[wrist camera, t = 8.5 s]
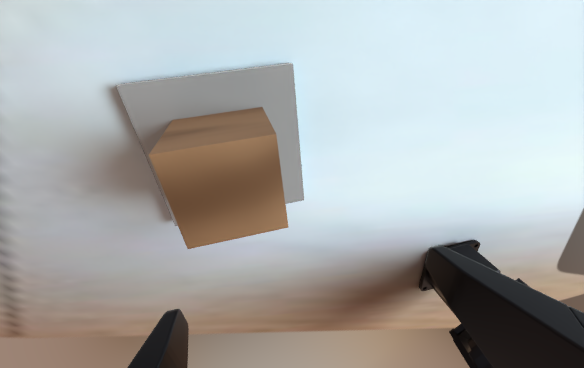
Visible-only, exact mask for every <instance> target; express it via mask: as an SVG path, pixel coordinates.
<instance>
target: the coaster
mask: <svg viewBox="0 0 584 368" xmlns="http://www.w3.org/2000/svg"><path fill="white" fill-rule="evenodd" d="M116 87H117V89H118V92H119V94H120V97H121V99H122V101H123V104H124V106H125V108H126V111H127V113H128V115H129V118H130V120H131V122H132V125H133V127H134V130H135V132H136V134H137V137H138V139H139V141H140V144H141V146H142V148H143V151H144V153H145V155H146V158H147V160H148V163H149V165H150V167H151V170H152V172H153V174H154V177H155V179H156V181H157V184H158V186H159V189H160V191H161V193H162V196H163V198H164V200H165V203H166V205H167V207H168V210H169V212H170V214H171V217H172V219H173V222H174V224H175V226H178V224H177V222H176V219H175V217H174V215H173V212H172V210H171V207H170V205H169V202H168V200H167V198H166V195H165V193H164V190H163V188H162V186H161V183H160V181H159V178H158V176H157V174H156V171H155V169H154V166H153V164H152V162H151V159H150V157H149V154H150V152H151V151H152V149H153V148H154V146H155V145H156V144H157V142H158V141H159V139H160V138H161V136H162V135H163V133H164V132H165V130H166V129H167V128H168V126H169V125H170V123H171V122H172V120H176V119H183V118H190V117H197V116H203V115H210V114H217V113H224V112H231V111H238V110H245V109H251V108H258V107H263V109H264V111H265V113H266V115H267V117H268V119H269V121H270V123H271V125H272V127H273V129H274V130H275V132H276V135H277V143H278V151H279V159H280V166H281V174H282V182H283V190H284V198H285V204H287V203H292V202H297V201H302V200H304V193H303V181H302V168H301V156H300V144H299V132H298V120H297V107H296V95H295V83H294V71H293V64H292V63H285V64H277V65H269V66H261V67H253V68H245V69H236V70H228V71H220V72H212V73H204V74H196V75H188V76H180V77H172V78H164V79H156V80H148V81H140V82H132V83H124V84H120V85H117V86H116Z"/></svg>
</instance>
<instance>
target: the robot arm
mask: <svg viewBox="0 0 584 368" xmlns="http://www.w3.org/2000/svg"><path fill="white" fill-rule="evenodd" d="M479 246H480V243H479V242H478V241H477V240H474V241H470V242H466V243H462V244H458V245H454V246H450V247H444V246H441V245H438V246H434V247H430V248H429V250H428V254H427V257H426V261H425V265H424V269H423V273H422V277H421V281H420V285H419V288H420V290H421V291H426V290H430V289H434V290H435V291H436V292H437V294H438V295H439V296H440V297H441V299H442V300H443V301H444V302H445V303H446V305H447V306H448V307H449V308H450V309H451V311H452V312H453V313H454V314H455V315H456V317H457V318H458V319H459V321H460V322H461V324H460V325H459V326H458V327H456V328H455V329H452V330H451V331H449V333H450V334H451V336H452V337H453V341H454V342H455V344H456V346H457V347H458V349H459V350H460V352H461V354H462V355H463V357H464V359H465V360H466V362H467V364H468V365H469V367H470V368H584V313H583V312H581V311H579V310H577V309H574V308H572V307H568V306H567V305H566V304H564V303H562V302H560V301H558V300H555V299H553V298H551V297H549V296H547V295H545V294H543V293H541V292H539V291H536V290H534V289H532V288H531V287H530V286H528V285H527V284H526V283H524V282H523V281H522V280H520V279H519V278H518V279H517V280H513V279H511V278H509V277H507V276H505V275H503V274H501V273H500V270H498V269H497V268H496V267H495V266H494V265H492V264H491V263H490V262H489V261H488V260H487V259H485V258H484V257H483V256H482V255H481V254H479V253H478V252H477V251H478V249H479ZM187 361H188V323H187V321H186V319H185V317H184V315H183V313H182V312H181V310H180V309H174V310H170V311H167V312H166V313H165V314H164V315H163V317H162V318H161V319H160V321H159V322H158V324H157V325H156V327H155V328H154V330H153V331H152V333H151V334H150V335H149V337H148V338H147V340H146V341H145V343H144V344H143V346H142V347H141V349H140V350H139V351H138V353H137V354H136V356H135V357H134V359H133V360H132V362H131V363H130V365H129V366H128V368H187Z"/></svg>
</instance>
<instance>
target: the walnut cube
mask: <svg viewBox="0 0 584 368" xmlns="http://www.w3.org/2000/svg"><path fill="white" fill-rule="evenodd" d="M149 157H150V159H151V162H152V164H153V166H154V169H155V171H156V174H157V176H158V178H159V181H160V183H161V186H162V188H163V190H164V193H165V195H166V198H167V200H168V202H169V205H170V207H171V210H172V212H173V215H174V217H175V219H176V222H177V224H178V227H179V229H180V231H181V234H182V236H183V239H184V241H185V243H186V246H187V248H188V249H191V248H195V247H200V246H204V245H209V244H214V243H218V242H223V241H228V240H232V239H237V238H241V237H246V236H251V235H255V234H260V233H264V232H269V231H274V230H278V229H283V228H287V227H288V221H287V213H286V205H285V198H284V190H283V182H282V174H281V166H280V159H279V151H278V143H277V135H276V132H275V130H274V129H273V127H272V125H271V123H270V121H269V119H268V117H267V115H266V113H265V111H264V109H263V107H258V108H251V109H245V110H238V111H231V112H224V113H217V114H210V115H203V116H197V117H190V118H183V119H176V120H172V122H171V123H170V125H169V126H168V128H167V129H166V130H165V132H164V133H163V135H162V136H161V138H160V139H159V141H158V142H157V144H156V145H155V146H154V148H153V149H152V151H151V152H150V154H149Z"/></svg>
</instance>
